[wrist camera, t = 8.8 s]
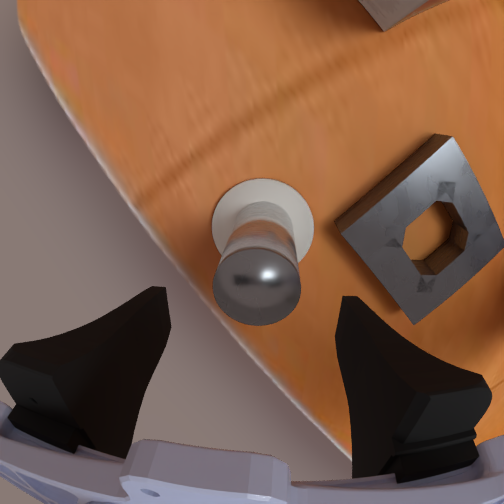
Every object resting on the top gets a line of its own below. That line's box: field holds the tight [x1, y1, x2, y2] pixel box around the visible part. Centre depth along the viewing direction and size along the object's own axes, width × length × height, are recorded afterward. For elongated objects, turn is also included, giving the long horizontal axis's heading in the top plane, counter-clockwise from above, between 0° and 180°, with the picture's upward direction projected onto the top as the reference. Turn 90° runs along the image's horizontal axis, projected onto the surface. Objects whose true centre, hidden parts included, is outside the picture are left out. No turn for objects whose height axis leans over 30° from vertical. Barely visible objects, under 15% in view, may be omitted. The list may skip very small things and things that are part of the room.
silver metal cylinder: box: [213, 201, 301, 326], centre depth 18 cm, size 4×4×8 cm
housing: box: [334, 134, 504, 325], centre depth 20 cm, size 10×10×2 cm
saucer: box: [212, 178, 314, 262], centre depth 22 cm, size 7×7×1 cm
